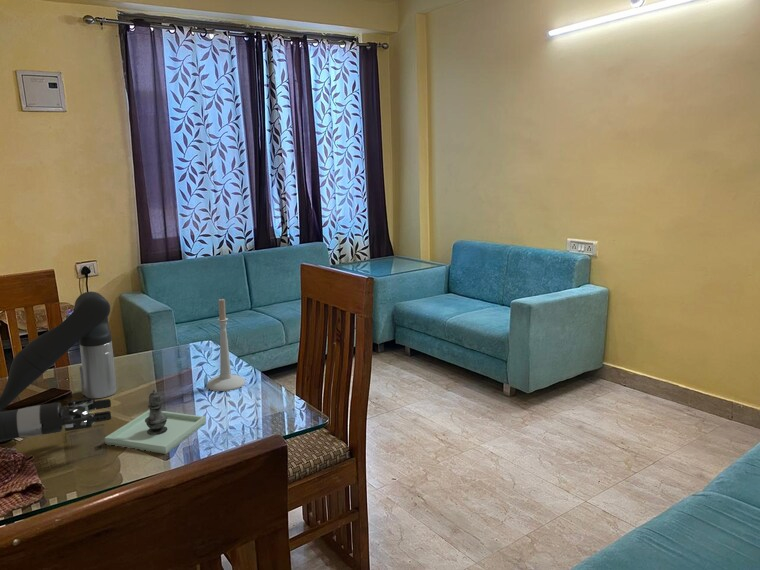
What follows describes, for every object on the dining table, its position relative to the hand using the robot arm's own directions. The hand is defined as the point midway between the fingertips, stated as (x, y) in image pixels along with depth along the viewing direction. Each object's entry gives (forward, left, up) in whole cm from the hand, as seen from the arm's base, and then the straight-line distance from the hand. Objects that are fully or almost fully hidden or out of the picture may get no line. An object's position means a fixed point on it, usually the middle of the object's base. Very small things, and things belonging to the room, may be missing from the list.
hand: (110, 408), depth 151 cm
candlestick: (+8, +45, -9) cm, 46 cm away
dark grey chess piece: (+8, +7, -9) cm, 14 cm away
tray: (+8, +7, -9) cm, 14 cm away
